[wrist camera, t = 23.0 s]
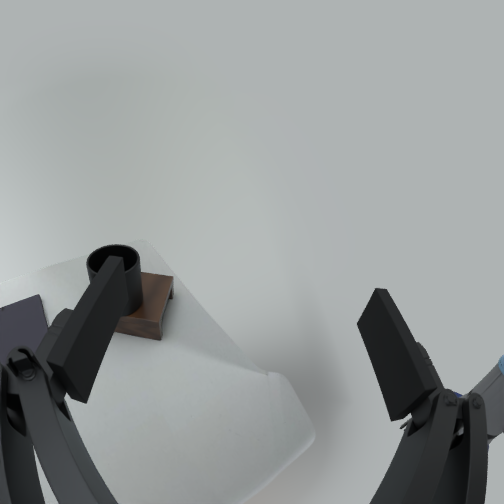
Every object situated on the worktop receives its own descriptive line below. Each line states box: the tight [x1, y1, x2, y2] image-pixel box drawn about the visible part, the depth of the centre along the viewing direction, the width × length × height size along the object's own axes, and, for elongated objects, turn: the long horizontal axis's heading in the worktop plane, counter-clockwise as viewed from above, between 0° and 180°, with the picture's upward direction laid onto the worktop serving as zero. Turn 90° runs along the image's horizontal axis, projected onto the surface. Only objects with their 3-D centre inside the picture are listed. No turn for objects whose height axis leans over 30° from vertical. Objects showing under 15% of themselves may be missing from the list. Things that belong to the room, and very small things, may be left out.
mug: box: [86, 244, 143, 317], centre depth 44 cm, size 9×12×9 cm
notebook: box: [0, 294, 48, 366], centre depth 35 cm, size 13×2×21 cm
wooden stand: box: [114, 272, 174, 340], centre depth 48 cm, size 15×13×7 cm
